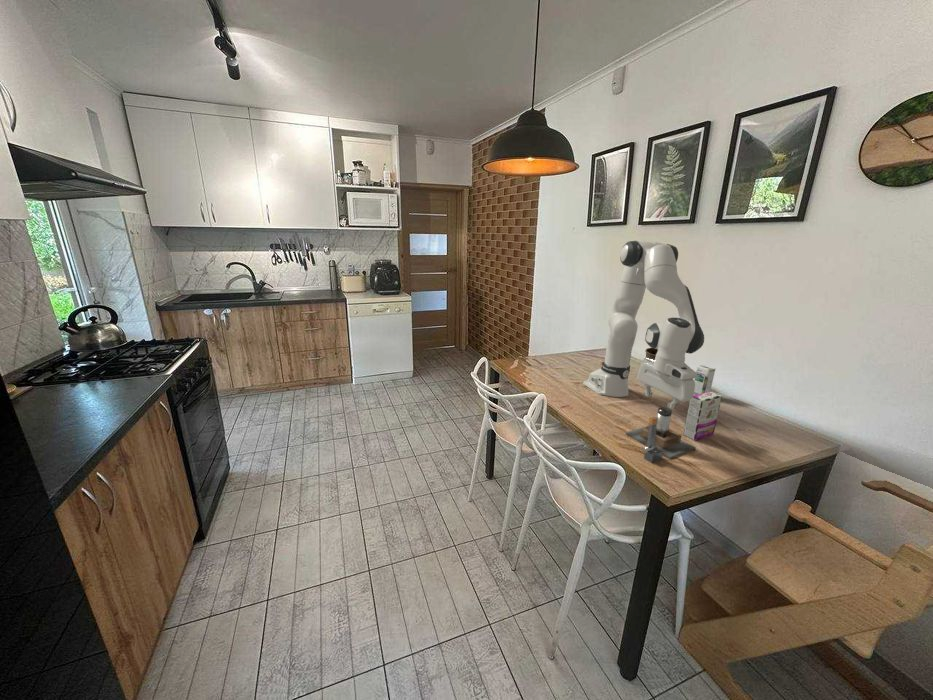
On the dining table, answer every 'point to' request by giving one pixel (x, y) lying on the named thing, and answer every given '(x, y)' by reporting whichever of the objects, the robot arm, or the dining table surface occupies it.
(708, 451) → the dining table surface
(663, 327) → the robot arm
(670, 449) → the hitch block
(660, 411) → the steel pin
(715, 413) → the candy bar box
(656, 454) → the retainer base
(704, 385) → the syrup box
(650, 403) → the dining table surface
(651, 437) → the bar
